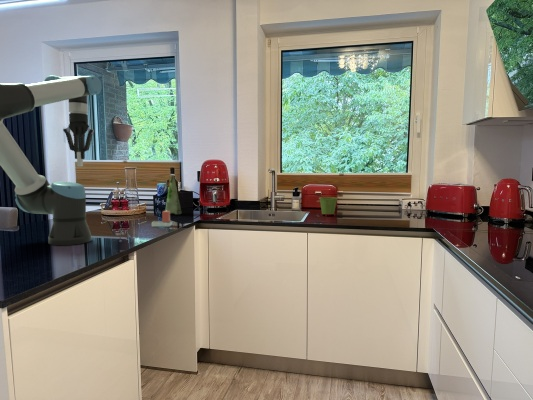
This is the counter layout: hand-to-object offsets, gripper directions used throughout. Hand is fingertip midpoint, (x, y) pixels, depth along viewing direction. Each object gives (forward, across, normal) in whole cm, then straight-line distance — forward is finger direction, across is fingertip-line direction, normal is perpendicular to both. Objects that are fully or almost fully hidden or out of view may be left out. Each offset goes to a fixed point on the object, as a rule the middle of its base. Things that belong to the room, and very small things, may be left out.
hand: (80, 166), depth 173 cm
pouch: (+30, -32, -58) cm, 73 cm away
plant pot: (+30, -128, -51) cm, 141 cm away
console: (+29, -33, -14) cm, 47 cm away
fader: (+27, -36, -14) cm, 47 cm away
